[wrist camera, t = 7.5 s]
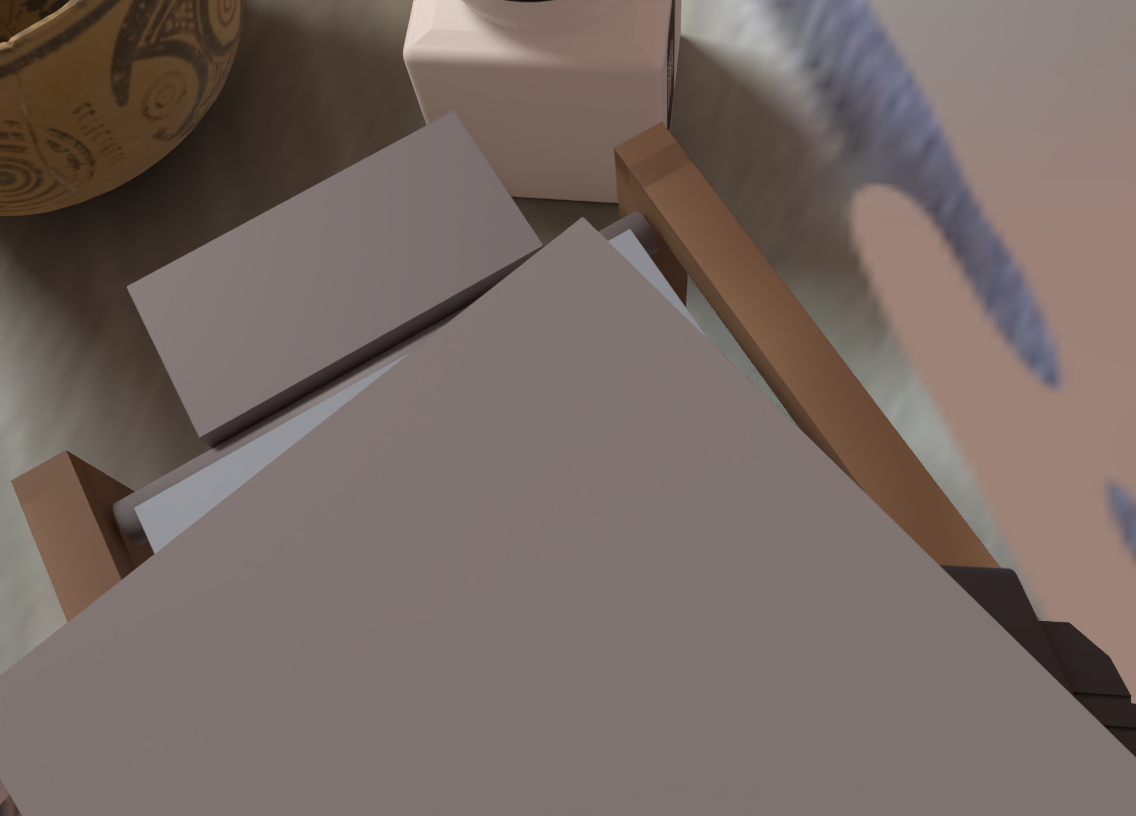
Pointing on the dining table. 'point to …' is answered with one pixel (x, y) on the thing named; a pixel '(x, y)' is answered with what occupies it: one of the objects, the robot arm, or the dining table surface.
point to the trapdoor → (328, 305)
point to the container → (547, 83)
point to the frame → (723, 275)
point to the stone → (549, 610)
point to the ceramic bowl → (103, 91)
